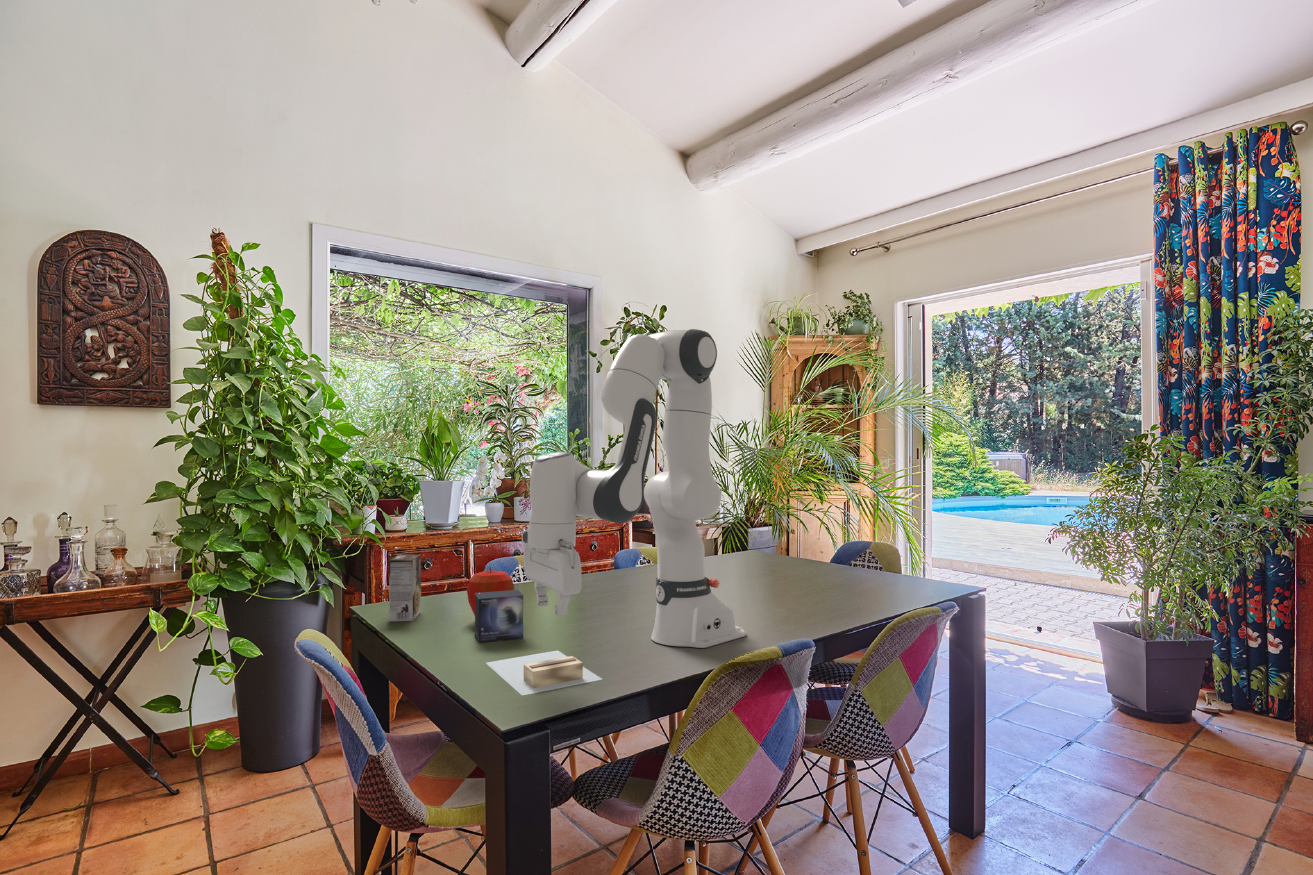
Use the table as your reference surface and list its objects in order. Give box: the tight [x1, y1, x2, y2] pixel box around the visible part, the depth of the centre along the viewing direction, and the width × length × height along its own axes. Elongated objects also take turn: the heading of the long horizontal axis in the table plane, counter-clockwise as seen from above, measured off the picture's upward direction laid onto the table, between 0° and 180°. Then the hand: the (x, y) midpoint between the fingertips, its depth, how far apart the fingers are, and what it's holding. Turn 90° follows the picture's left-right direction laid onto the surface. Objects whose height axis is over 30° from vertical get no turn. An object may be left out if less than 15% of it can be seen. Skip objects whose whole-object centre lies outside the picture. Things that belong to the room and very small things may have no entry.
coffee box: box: [388, 554, 422, 622], centre depth 181 cm, size 9×6×16 cm
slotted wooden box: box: [524, 655, 584, 688], centre depth 129 cm, size 10×5×3 cm, turn 121°
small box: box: [473, 589, 524, 644], centre depth 160 cm, size 11×6×10 cm, turn 114°
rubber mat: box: [485, 650, 604, 696], centre depth 134 cm, size 16×22×1 cm
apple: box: [466, 567, 515, 616], centre depth 175 cm, size 12×12×14 cm
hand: (551, 610), depth 129 cm, fingers open, 8 cm apart
